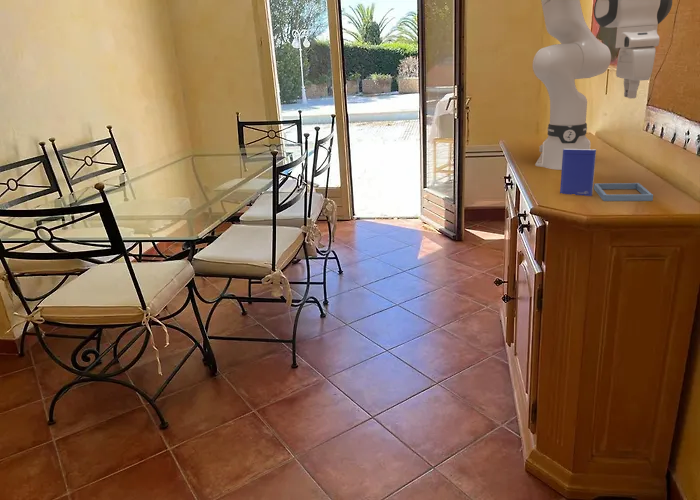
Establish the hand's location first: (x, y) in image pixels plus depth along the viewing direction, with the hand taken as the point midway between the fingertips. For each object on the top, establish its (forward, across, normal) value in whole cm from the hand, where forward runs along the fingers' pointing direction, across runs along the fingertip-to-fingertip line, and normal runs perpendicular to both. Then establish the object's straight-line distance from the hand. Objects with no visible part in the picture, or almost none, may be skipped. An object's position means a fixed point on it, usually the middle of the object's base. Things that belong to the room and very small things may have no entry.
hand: (629, 97), depth 138 cm
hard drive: (+26, 0, -11) cm, 28 cm away
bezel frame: (+25, 0, 0) cm, 25 cm away
